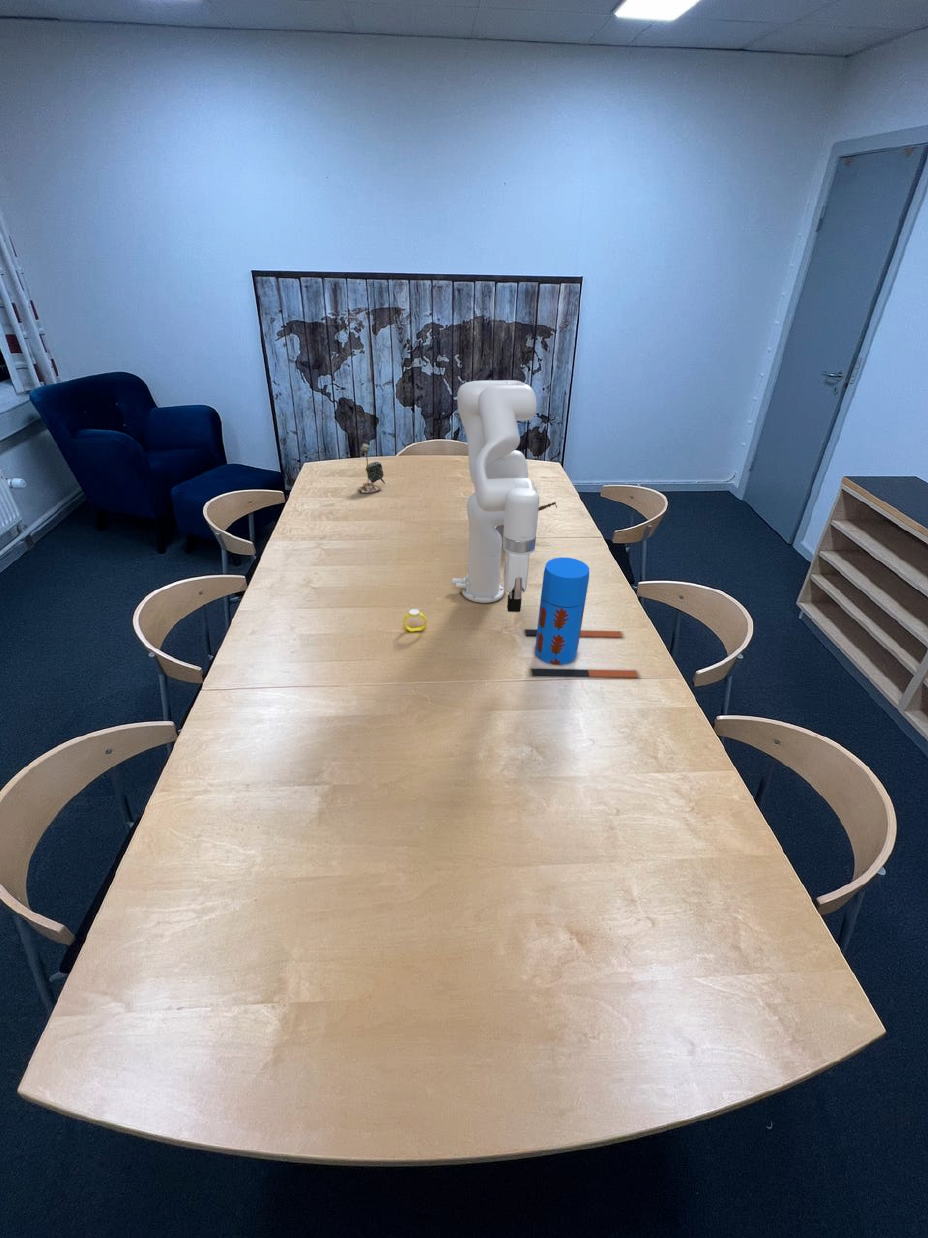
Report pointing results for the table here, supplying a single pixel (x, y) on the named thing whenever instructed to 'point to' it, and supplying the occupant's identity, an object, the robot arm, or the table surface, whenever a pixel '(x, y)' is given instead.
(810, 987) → the table surface
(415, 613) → the gold ring
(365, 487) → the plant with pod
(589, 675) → the lane
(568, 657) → the thermos
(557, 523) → the table surface
